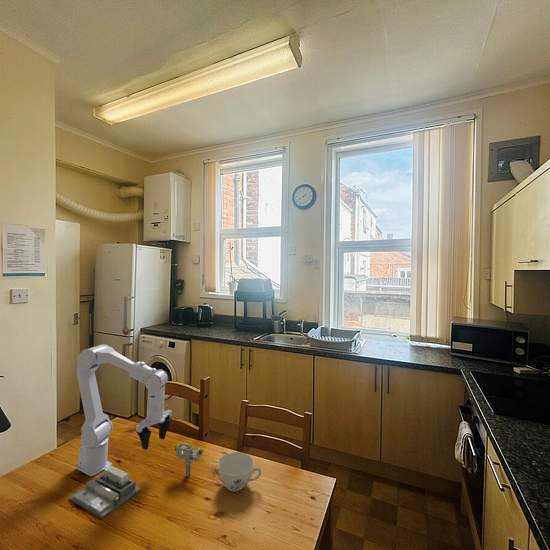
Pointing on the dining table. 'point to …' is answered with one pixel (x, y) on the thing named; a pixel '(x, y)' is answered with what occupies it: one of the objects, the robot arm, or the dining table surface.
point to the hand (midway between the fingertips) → (153, 443)
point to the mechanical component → (187, 455)
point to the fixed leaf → (103, 496)
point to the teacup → (236, 470)
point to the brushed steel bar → (115, 477)
